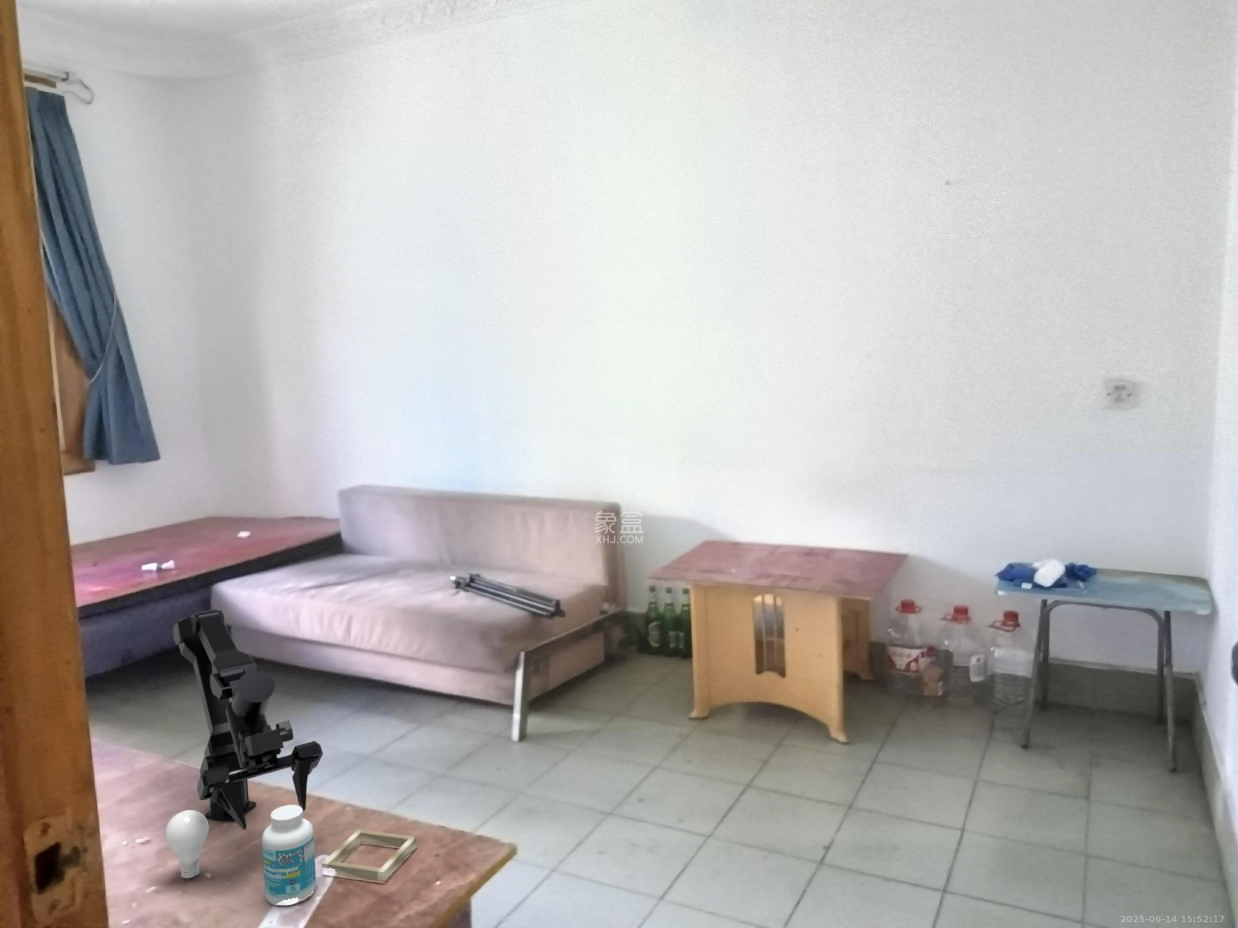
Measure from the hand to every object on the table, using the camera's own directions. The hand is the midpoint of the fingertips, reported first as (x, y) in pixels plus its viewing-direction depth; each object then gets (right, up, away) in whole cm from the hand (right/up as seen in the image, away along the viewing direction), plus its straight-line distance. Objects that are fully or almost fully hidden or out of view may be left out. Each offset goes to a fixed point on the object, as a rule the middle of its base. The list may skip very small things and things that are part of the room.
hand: (275, 819), depth 146 cm
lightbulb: (-14, -10, +2) cm, 18 cm away
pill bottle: (+4, -10, -3) cm, 12 cm away
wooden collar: (+14, -9, +5) cm, 17 cm away
